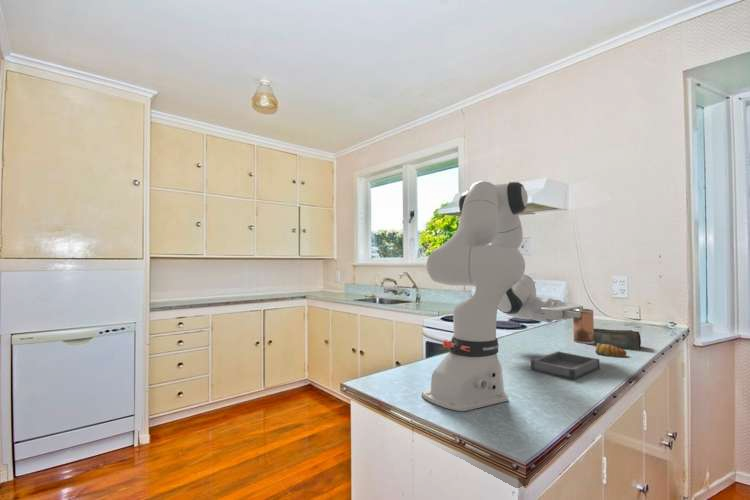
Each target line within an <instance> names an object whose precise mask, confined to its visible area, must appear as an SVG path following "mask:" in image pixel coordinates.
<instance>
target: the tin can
mask: <svg viewBox="0 0 750 500" xmlns="http://www.w3.org/2000/svg"><path fill="white" fill-rule="evenodd" d="M573 312H581V313H582V317H581V318H576V317H572V321H573V323H572V324H573V325H572V326H573V342H574V343H577V344H582V345H591V344H594V328H595V327H594V326H595V325H594V324H595V323H594V321H595V320H594V309H592V308H591V309H590V308H583V309H573Z"/></svg>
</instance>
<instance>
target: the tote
mask: <svg viewBox="0 0 750 500" xmlns="http://www.w3.org/2000/svg"><path fill="white" fill-rule="evenodd" d="M600 368H601V367H600V359H599V358H595V357H590V356H589V357H588V356H583V355H579V354H573V353H567V352H563V351H556V352H555V351H554V352H552V353H549V354H546V355H543V356H540V357H537V358H534V359H530V370H531V371H535V372H537V373H542V374H545V375H546V374H547V375H551V376H555V377H558V378H562V379H567V380H571V381H576V380H578V379H580V378H583V377H584V376H587V375H589V374H591V373H593V372H595V371H598V370H600Z"/></svg>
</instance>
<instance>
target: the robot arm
mask: <svg viewBox="0 0 750 500" xmlns="http://www.w3.org/2000/svg"><path fill="white" fill-rule="evenodd" d="M528 199H529V197H528V192H527V190H526V188H525V186H524V185H523V184H522V183H520V182H519V181H509V182H508V183H500V184H493V183H492V182H489V181H485V180H484V181H476V182H475V183H473V184H472V185H471V186H470V187H469V189H468V190H467V191H465V192H463V193H462V194H461V196H460V197H459V199H458V208H459V212H460V219H459V221H458V222H459V223H458V226H457V229H456V230H455V232H454V234H452V236H451V237H449V239H447V241H446V242H444V243H443V244H442V245H440V246H439V247H436V248H434V249H433V250H432V251H431V252H430V253H429V255H428V256H427V260H426V271H427V273H428V276H429V277H430V279H431V280H432V281H433V282H434V283H438V284H443V285H446V286H465V287H466V286H468V287H469V286H472V287H475V291H474V294H473V295H472V296H470V297H468V298H465V299H463V300H461V301H459V302H458V303H457V304H456V305H455V307H454V309H453V313H452V315H453V316H452V317H453V319H452V320H453V335H452V337H451V340H447V339H444V340H443V342H442V347H443V348H444V349H445V348H446V349H448V351H449V352H448V353H447V354H446V356H445V357H444V358H443V360H442V361H440V363H439V364H438V365H437V367H435V368H434V370H433V371H432V374H431V380H430V386H429V387H427V388H425V389H424V390H422V391H421V396H422V397H423V399H425V400H426V401H428V402H430V403H432V404H434V405H436V406H439V407H442V408H445V409H449V410H453V411H456V412H457V411H458V412H466V411H467V412H468V411H471V410H474V409H475V410H476V409H480V408H483V407H488V406H492V405H495V404H500V403H505V402H508V401H509V396H508V394H507V393H506V392H505V387H504V386H505V385H504V377H503V367H502V364H501V362H500V361H499V358H498V352H499V345H500V344H499V339H498V338H497V319H498V318H497V315H498V311H500V312H501V313H503V314H506V315H508V316H510V317H513V318H516V319H521V320H522V319H523V320H534V321H537V322H544V323H552V322H553V321H561V320H565V319H570V318H573V317H576V318H581V317H582V313H581V312H573V309H584V306H583V305H581V304H577V303H571V302H565V301H562V300H560V299H553V298H551V297H550V298H549V297H538V296H537V288H536V285H535V282H534V280H533V279H532V277H530V276H529V275H527V274H525V270H526V263H525V259H524V258H525V257H523V254H522V253H521V252H520V250H519V248H520V246H521V245H522V242H523V238H524V237H523V235H524V234H523V233H524V232H523V227H522V222H521V219H520V215H519V214H520V213H523V212H524V211H525V210H526V209H527V205H528Z"/></svg>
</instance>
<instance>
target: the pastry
mask: <svg viewBox="0 0 750 500" xmlns="http://www.w3.org/2000/svg"><path fill="white" fill-rule="evenodd" d="M595 346H596V348H595V353H596V354H597V355H602V356H603V355H604V356H607V357H609V356H610V357H617V358H621V357H623V358H625V357H626V356H627V351H626V350H625V349H624V348H619V347H616V346H612V345H610V344H609V345H608V344H600V343H597V345H595Z"/></svg>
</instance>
